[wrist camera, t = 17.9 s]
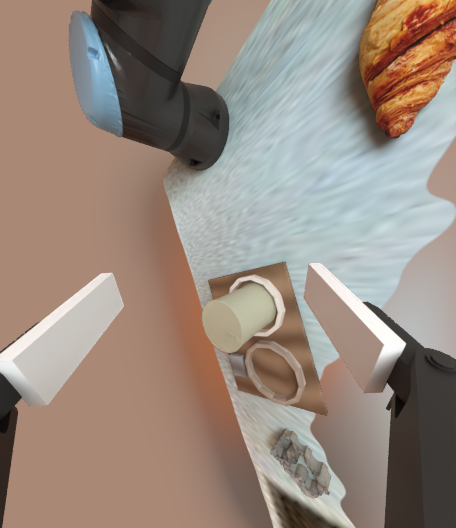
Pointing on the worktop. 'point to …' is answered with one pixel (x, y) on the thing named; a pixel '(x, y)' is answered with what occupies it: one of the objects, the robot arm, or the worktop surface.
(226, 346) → the can
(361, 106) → the worktop surface
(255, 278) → the ring
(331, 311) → the robot arm
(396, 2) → the croissant
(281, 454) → the egg carton
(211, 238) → the worktop surface
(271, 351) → the walnut board
